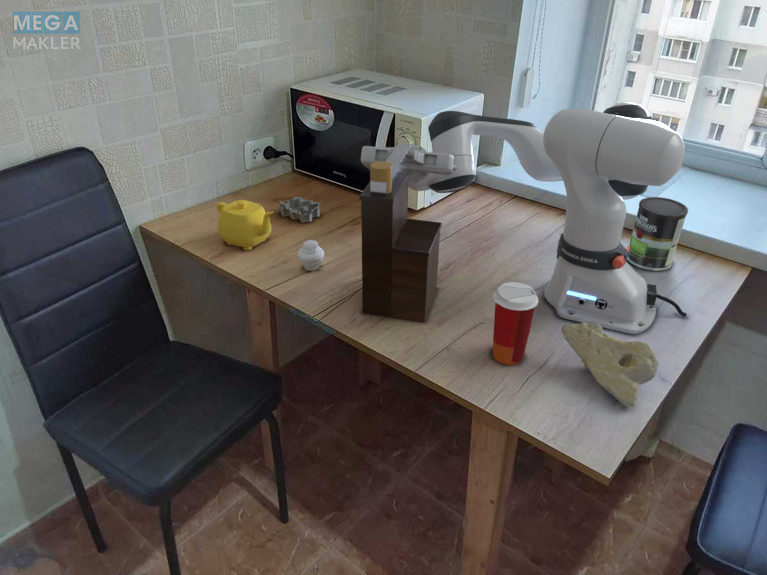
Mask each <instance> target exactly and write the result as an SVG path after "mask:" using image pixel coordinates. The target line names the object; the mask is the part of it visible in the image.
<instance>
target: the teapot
mask: <svg viewBox="0 0 767 575" xmlns="http://www.w3.org/2000/svg"><path fill="white" fill-rule="evenodd" d="M216 209H217V211H218V213H219V216H218V217H219V218H218V224H217V225H218V226H217V228H218V230H217V231H218V235H219V236H220V238H221V239H222V240H223V241H224V242H226V244H227V245H228V246H237V247H242V250H244V251H250V250H252V248H253V247H255V246H257V245H259V244H261V243H262V242H263V243H264V242H265V241H266V240H267V239H268V238H269V237H270V235H271V233H272V224H271V215H272V214H273V215H274V213H275V212H274V211H267V212H266V210H265V209H264V207H263V206H262V205H261V204H260V203H257V202H254V201H251V200H245V199H238V200H234V201H233V202H231V203H226V202H223V201H218V202H216Z"/></svg>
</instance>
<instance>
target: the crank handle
mask: <svg viewBox="0 0 767 575" xmlns="http://www.w3.org/2000/svg"><path fill="white" fill-rule="evenodd" d="M413 145H414V144H412V143H411V144H410V143H401V142H399V143H398V144H397V145H396V146H395V147H396V148H395V149H394V150H393V152H392V153H391V154H390V156H389V157H388V158H387V160H386V161H377V162H373V163H371V164H370V169H369V178H370V179H369V182H370V194H377V195H387V194H389V193H391V192H392V186H393V184H394V183H395V181H396V180H397V178H398V177H399V175H400V174H401V172H402V171H403V169H404V168H405V166H406V165H407V163H408V162H409V159H408V155H409V150H413Z"/></svg>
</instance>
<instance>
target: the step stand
mask: <svg viewBox="0 0 767 575" xmlns="http://www.w3.org/2000/svg"><path fill="white" fill-rule="evenodd" d="M409 177H410V173H406V172H401V174H400V175H399V177H398V178H397V180H396V181H395V183H394V184H393V186H392V192H391V193H389V194H387V195H377V194H370V181H369V182H368V184H367V185H366V187H365V188H364V189H363V191H362V192H361V193H360V195H359V200H360V214H361V215H360V216H361V217H360V218H361V219H360V220H361V285H362V286H361V289H362V290H361V291H362V297H361V298H362V300H361V301H362V313H363V314H369V315H374V316H382V317H388V318H395V319H401V320H407V321H414V322H421V323H426V319H427V317H428V314H429V312H430V308H431V305H432V303H433V300H434V297H435V294H436V292H437V287H438V286H437V284H438V272H439V257H440V256H439V254H440V240H441V239H440V238H441V235H440V234H441V229H442V226H443V225H442V224H443V223H442V222H439V221H433V220H432V221H431V220H422V219H413V218H408V210H409V209H408V208H409V207H408V206H409V187H408V179H409Z"/></svg>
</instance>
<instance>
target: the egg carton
mask: <svg viewBox="0 0 767 575" xmlns="http://www.w3.org/2000/svg"><path fill="white" fill-rule="evenodd" d="M276 203H277V204H279V210H280V215H281V217H290V220H300V221H299V222H300V223H302V224H304V223H311V222H313V218H319V217H320V214H321V212H320V206H321V205H322V202H315V201H313V200H311V199H306V198H303V197H302V196H295V197H292V198H289V200H287V199H286V200H285V203H284V202H283V201H279V200H277V202H276Z"/></svg>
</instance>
